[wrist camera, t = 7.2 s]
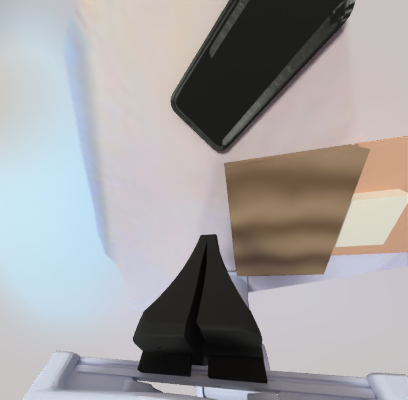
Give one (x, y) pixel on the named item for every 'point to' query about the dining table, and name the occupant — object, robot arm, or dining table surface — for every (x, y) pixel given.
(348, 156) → the butcher block
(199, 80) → the phone
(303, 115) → the dining table surface
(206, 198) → the dining table surface
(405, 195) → the tile
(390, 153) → the mat
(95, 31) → the dining table surface
